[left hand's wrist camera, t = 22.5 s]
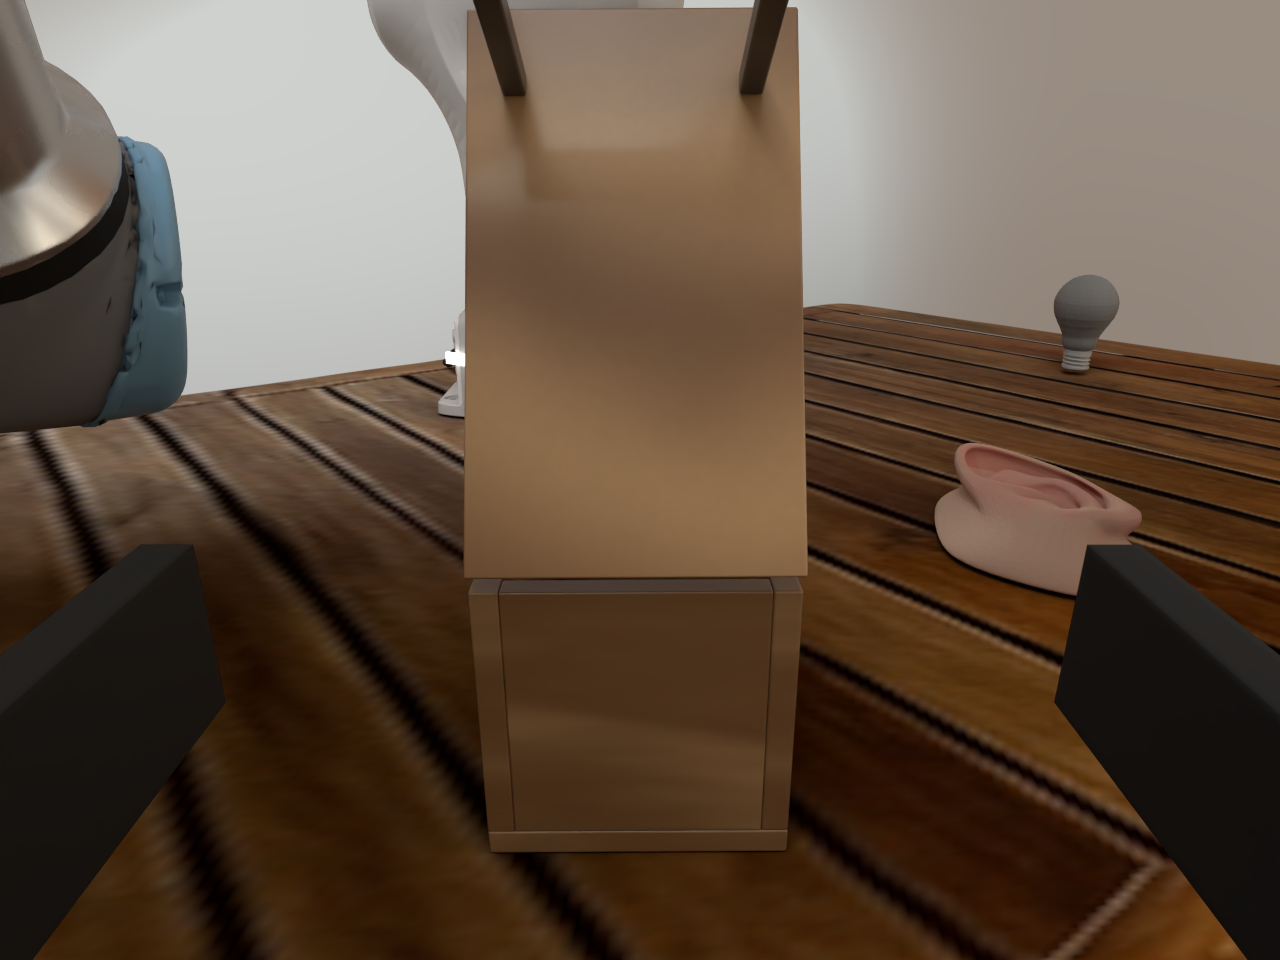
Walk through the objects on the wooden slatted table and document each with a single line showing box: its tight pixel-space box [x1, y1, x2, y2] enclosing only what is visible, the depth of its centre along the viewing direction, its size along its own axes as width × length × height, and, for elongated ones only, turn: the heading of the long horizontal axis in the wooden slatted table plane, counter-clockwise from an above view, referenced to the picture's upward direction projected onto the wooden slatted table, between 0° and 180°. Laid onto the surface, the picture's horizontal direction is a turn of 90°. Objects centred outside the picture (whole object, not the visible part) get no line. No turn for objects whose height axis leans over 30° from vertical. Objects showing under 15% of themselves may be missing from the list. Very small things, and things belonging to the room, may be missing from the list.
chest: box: [468, 577, 803, 852], centre depth 34 cm, size 16×10×10 cm, turn 0°
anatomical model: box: [935, 443, 1142, 596], centre depth 50 cm, size 13×4×12 cm
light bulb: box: [1054, 275, 1119, 372], centre depth 89 cm, size 6×6×10 cm
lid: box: [464, 0, 808, 579], centre depth 21 cm, size 17×10×8 cm
